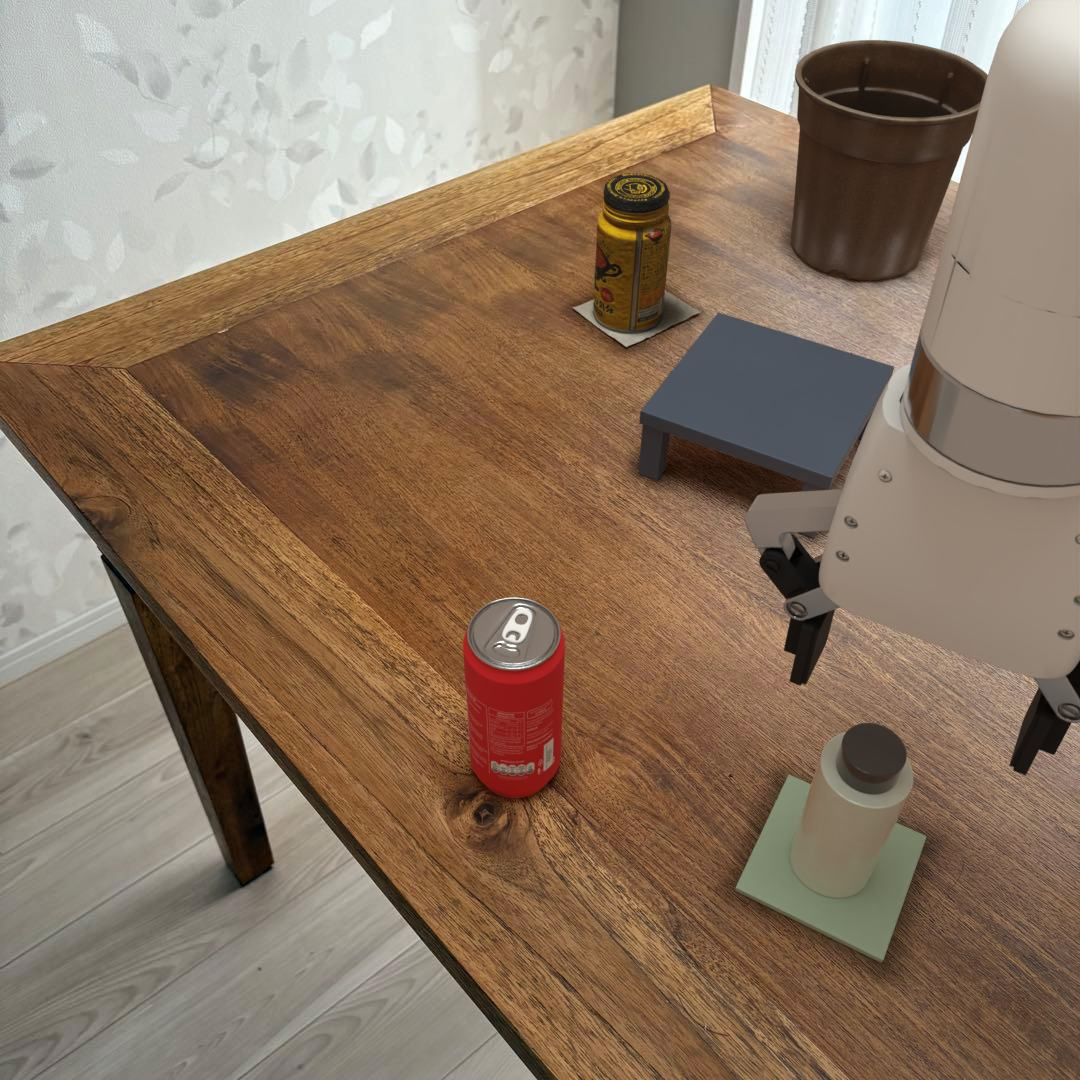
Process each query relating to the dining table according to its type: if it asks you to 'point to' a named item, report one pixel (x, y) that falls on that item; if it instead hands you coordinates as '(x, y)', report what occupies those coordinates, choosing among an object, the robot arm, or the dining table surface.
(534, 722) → the beverage can
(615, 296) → the condiment
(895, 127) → the plant pot
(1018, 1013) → the dining table surface
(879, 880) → the coaster
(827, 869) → the spice bottle
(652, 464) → the grey miniature table
